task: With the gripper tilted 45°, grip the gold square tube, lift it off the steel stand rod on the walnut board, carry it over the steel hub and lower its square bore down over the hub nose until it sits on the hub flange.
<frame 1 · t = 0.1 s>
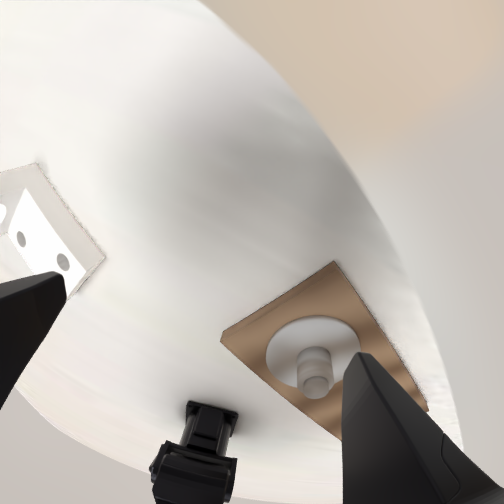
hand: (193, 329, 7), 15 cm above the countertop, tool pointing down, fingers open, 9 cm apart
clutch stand: (347, 379, 27), on the countertop
bracket: (56, 227, 24), on the countertop
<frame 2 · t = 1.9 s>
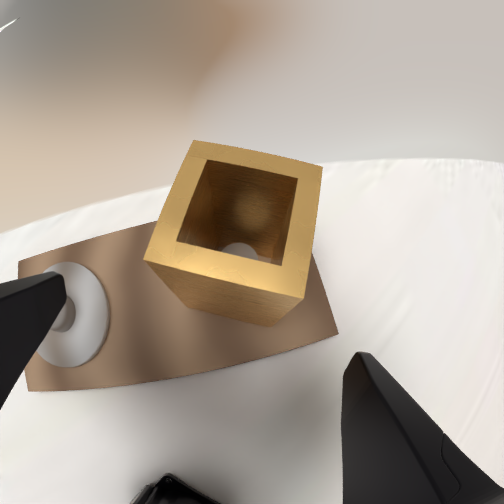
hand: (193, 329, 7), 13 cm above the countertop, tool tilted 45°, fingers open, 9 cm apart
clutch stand: (149, 302, 21), on the countertop
gold square tube: (238, 277, 20), point 1 cm above the countertop, touching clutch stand
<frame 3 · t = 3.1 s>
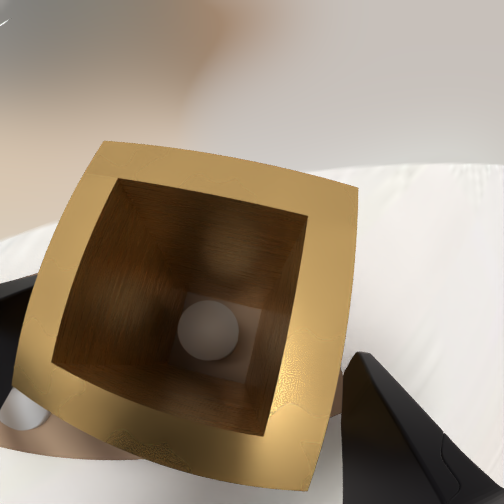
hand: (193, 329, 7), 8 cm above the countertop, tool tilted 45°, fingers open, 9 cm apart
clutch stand: (104, 360, 14), on the countertop
gold square tube: (214, 337, 14), point 1 cm above the countertop, touching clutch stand
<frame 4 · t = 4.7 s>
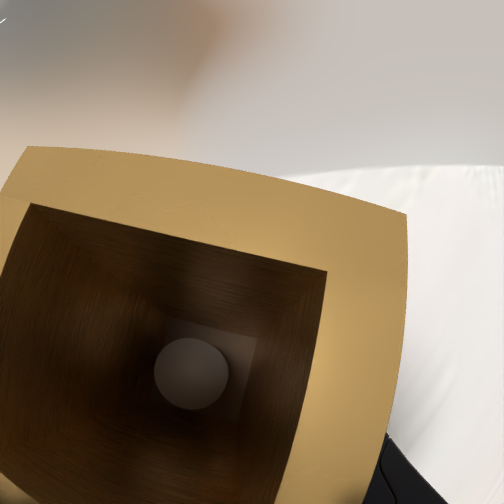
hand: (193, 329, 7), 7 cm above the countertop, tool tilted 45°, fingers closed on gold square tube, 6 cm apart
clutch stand: (84, 387, 12), on the countertop
gold square tube: (202, 370, 11), point 1 cm above the countertop, touching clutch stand, gripper
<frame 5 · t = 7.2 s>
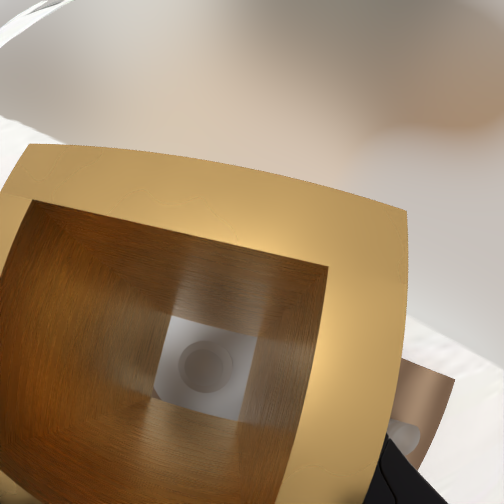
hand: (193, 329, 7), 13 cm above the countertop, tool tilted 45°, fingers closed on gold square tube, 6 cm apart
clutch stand: (299, 403, 19), on the countertop
gold square tube: (203, 369, 11), point 8 cm above the countertop, touching gripper
when the fingers open (8 cm above the countertop, at t = 9.6 s): gold square tube stays where it is, resting on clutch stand.
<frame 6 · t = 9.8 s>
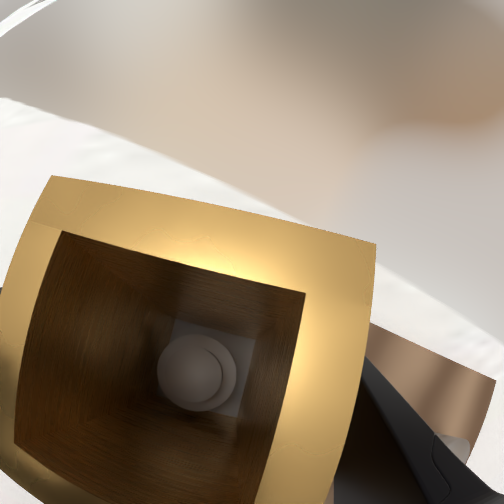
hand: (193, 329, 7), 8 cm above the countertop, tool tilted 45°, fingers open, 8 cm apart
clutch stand: (321, 417, 14), on the countertop
gold square tube: (205, 369, 12), point 2 cm above the countertop, touching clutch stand
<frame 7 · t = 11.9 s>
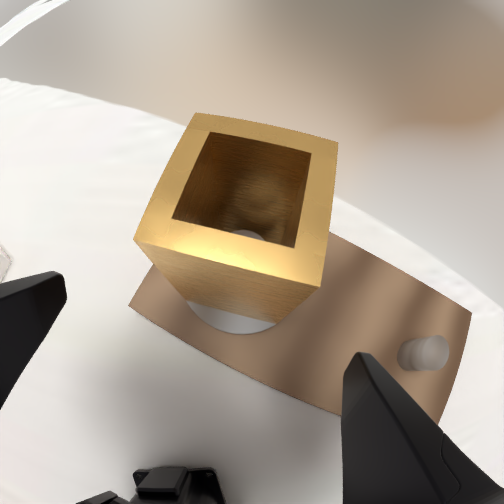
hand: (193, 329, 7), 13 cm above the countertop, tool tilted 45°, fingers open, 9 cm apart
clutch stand: (326, 321, 20), on the countertop
gold square tube: (242, 269, 19), point 2 cm above the countertop, touching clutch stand
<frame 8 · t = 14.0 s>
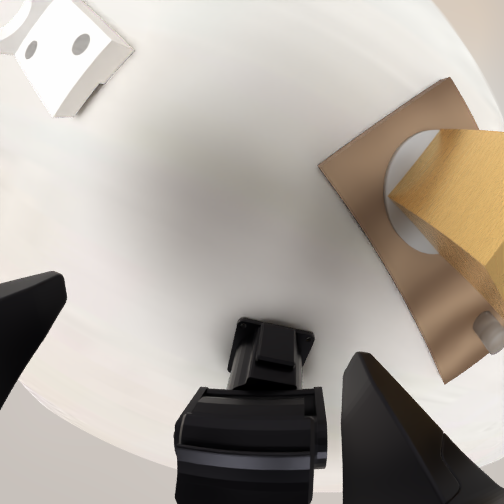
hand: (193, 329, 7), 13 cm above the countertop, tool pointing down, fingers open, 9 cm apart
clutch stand: (459, 259, 18), on the countertop
gold square tube: (443, 193, 15), point 2 cm above the countertop, touching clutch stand
bracket: (75, 47, 15), on the countertop
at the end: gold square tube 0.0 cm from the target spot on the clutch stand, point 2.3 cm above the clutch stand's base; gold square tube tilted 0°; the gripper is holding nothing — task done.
